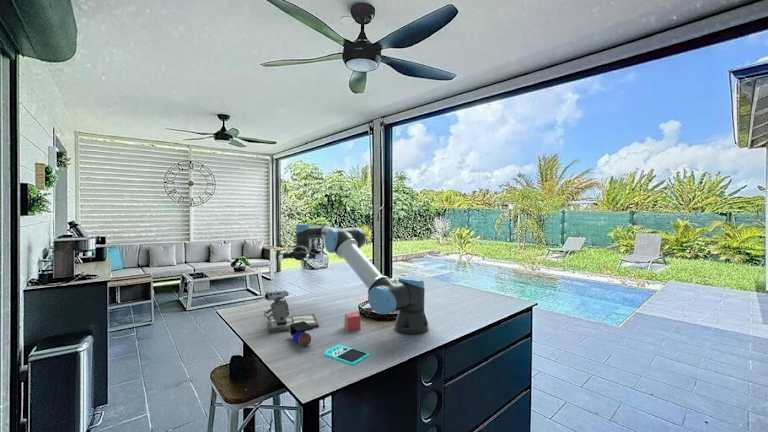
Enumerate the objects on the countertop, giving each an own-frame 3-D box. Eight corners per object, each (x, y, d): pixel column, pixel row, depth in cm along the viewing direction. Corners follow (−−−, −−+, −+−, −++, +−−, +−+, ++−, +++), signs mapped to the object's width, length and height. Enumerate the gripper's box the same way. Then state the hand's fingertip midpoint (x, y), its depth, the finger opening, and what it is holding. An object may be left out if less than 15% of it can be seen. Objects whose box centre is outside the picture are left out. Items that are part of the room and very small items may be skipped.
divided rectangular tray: (318, 327, 159) (318, 323, 159) (268, 333, 152) (268, 329, 152) (314, 316, 174) (314, 313, 174) (268, 321, 167) (268, 318, 167)
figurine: (262, 321, 162) (262, 290, 162) (288, 318, 167) (287, 287, 166) (263, 328, 154) (263, 295, 153) (290, 324, 158) (289, 292, 158)
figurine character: (287, 340, 148) (298, 349, 135) (286, 322, 148) (297, 329, 136) (302, 336, 152) (315, 345, 139) (301, 319, 152) (314, 325, 139)
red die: (360, 329, 156) (360, 315, 156) (347, 330, 154) (347, 317, 154) (357, 324, 162) (357, 311, 162) (344, 326, 160) (344, 313, 160)
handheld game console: (339, 346, 139) (339, 343, 139) (370, 356, 130) (370, 353, 130) (321, 355, 131) (321, 352, 131) (353, 367, 122) (353, 363, 122)
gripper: (322, 258, 195) (318, 265, 174) (277, 259, 193) (267, 267, 172) (322, 245, 194) (318, 250, 173) (277, 246, 193) (267, 252, 171)
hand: (293, 258), depth 172 cm, fingers open, 13 cm apart
